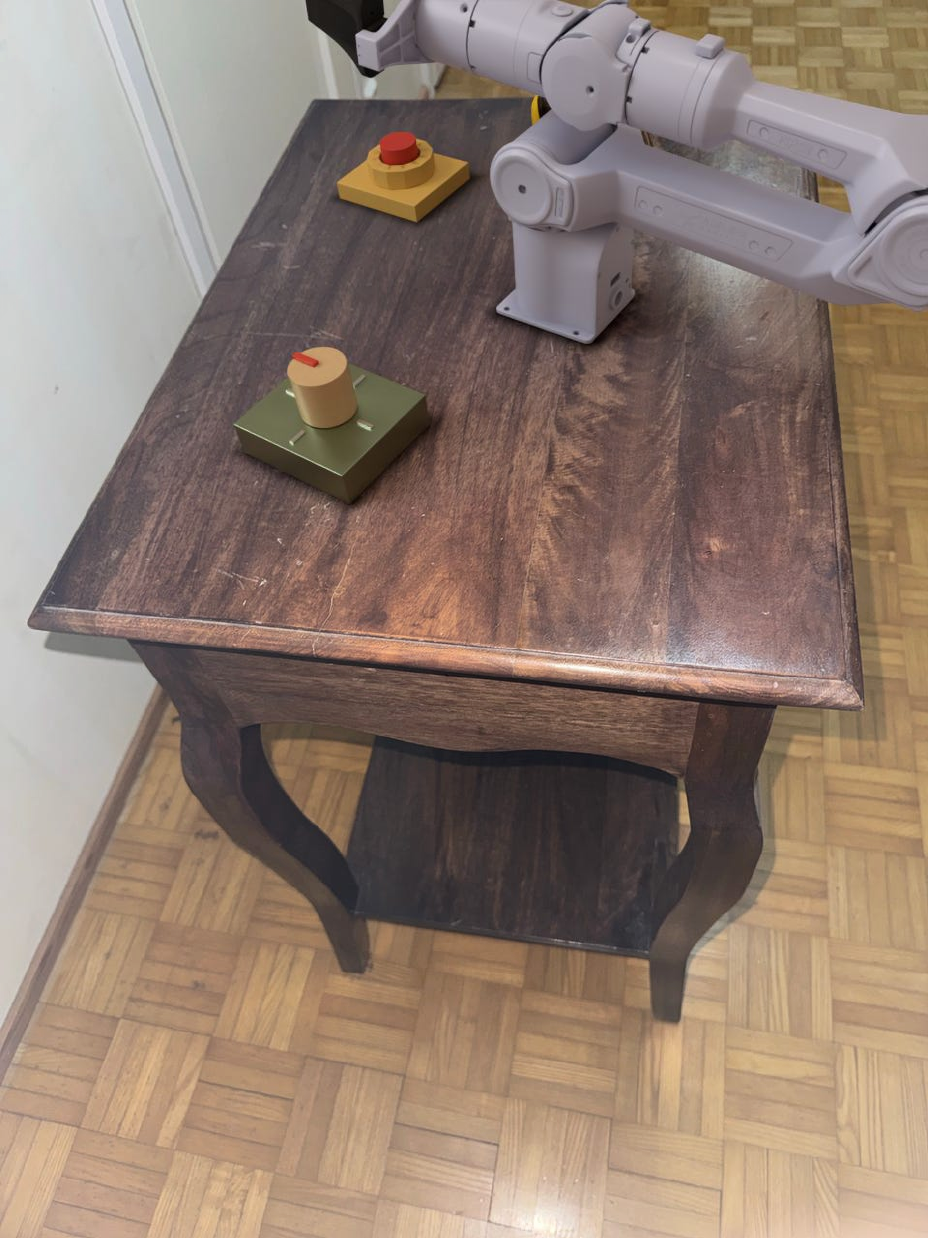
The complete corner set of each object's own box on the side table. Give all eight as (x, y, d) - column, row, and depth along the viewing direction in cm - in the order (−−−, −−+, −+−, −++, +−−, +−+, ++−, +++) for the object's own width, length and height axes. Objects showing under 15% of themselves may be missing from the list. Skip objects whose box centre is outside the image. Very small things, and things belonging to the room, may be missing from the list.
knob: (369, 400, 69) (358, 354, 65) (332, 435, 67) (319, 389, 63) (325, 382, 71) (313, 336, 67) (288, 415, 69) (273, 370, 65)
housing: (470, 178, 92) (466, 143, 90) (417, 222, 88) (411, 187, 86) (393, 156, 96) (388, 123, 94) (339, 198, 92) (332, 164, 90)
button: (425, 153, 90) (423, 135, 89) (403, 170, 88) (400, 153, 87) (397, 146, 91) (394, 128, 90) (375, 162, 90) (371, 145, 88)
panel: (430, 424, 71) (425, 392, 69) (350, 505, 67) (341, 474, 64) (325, 379, 76) (317, 348, 73) (244, 452, 71) (231, 422, 69)
